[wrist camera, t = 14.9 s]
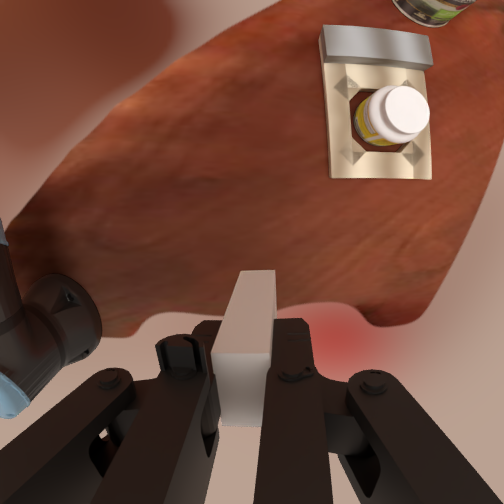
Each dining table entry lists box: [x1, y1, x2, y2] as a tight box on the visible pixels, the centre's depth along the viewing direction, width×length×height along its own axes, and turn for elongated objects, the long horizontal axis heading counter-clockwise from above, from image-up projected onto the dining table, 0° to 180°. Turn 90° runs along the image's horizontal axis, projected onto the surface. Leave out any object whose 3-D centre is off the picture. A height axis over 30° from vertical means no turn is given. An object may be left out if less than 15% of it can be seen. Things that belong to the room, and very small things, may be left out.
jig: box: [319, 25, 433, 179], centre depth 33 cm, size 13×18×5 cm
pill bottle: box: [354, 85, 430, 146], centre depth 30 cm, size 6×6×11 cm
